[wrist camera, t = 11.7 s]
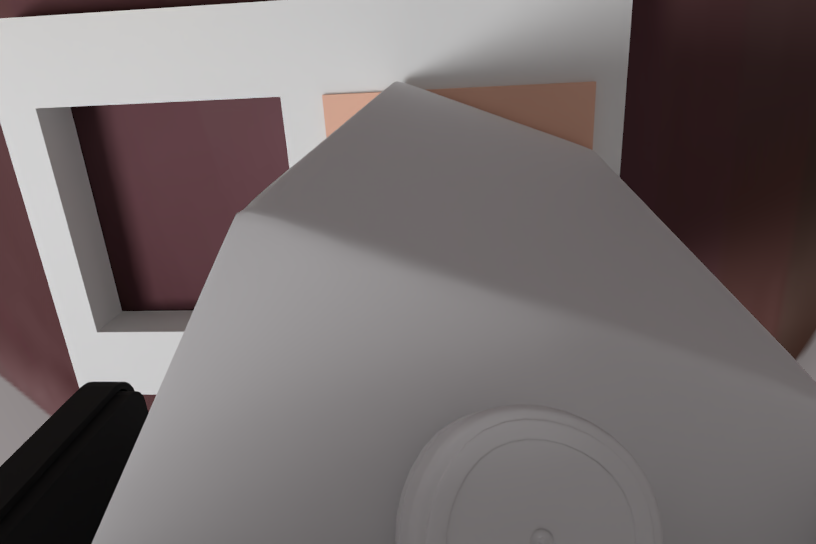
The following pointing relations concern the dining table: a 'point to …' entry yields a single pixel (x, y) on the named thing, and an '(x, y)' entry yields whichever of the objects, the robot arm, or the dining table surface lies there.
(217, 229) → the dining table surface
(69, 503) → the robot arm
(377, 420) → the milk carton
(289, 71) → the board
